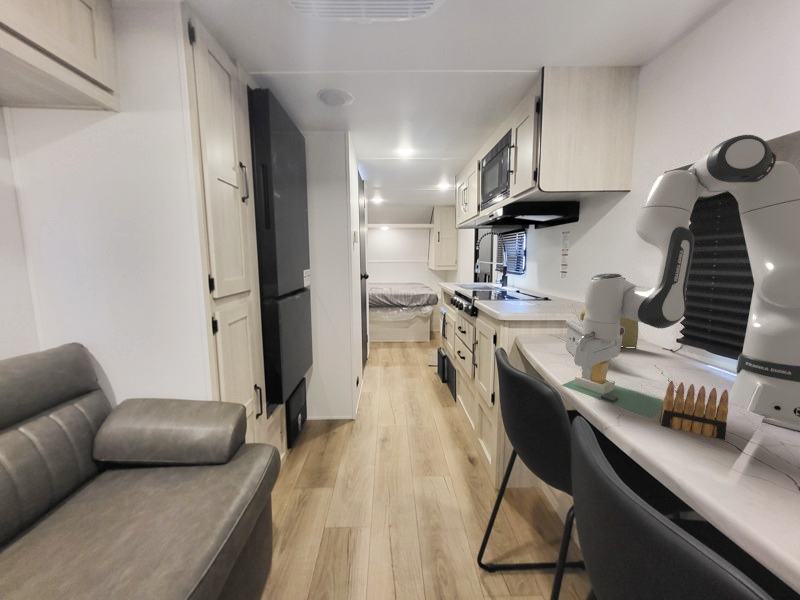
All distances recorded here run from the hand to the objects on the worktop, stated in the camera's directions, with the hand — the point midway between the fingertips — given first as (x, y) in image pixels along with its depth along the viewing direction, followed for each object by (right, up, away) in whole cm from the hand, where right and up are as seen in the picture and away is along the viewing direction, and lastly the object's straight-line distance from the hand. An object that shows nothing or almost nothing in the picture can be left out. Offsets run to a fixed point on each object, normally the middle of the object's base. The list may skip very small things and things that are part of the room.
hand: (595, 375), depth 90 cm
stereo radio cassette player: (+15, -1, +32) cm, 35 cm away
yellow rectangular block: (0, -4, +1) cm, 4 cm away
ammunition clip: (+8, -8, -21) cm, 24 cm away
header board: (+3, -5, -3) cm, 7 cm away
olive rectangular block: (+36, +2, +49) cm, 61 cm away
